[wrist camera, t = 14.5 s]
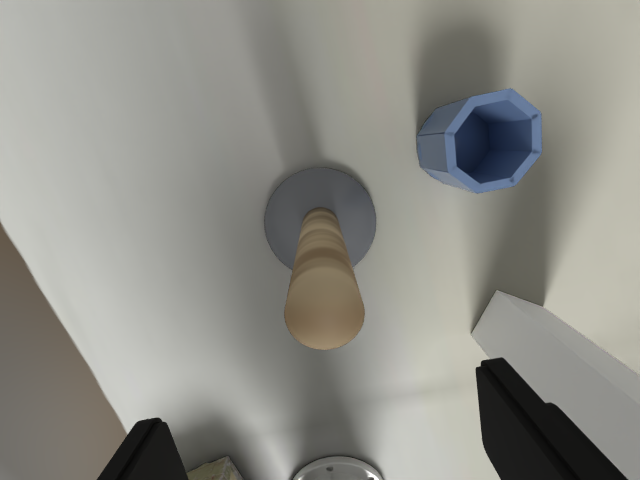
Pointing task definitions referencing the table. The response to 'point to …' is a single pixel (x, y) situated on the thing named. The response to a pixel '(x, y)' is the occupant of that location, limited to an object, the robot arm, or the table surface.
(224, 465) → the decorative box
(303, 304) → the wooden pestle
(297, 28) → the table surface
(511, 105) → the cup
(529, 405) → the robot arm
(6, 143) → the table surface
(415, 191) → the table surface
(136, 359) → the table surface
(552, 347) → the milk
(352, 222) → the coaster
